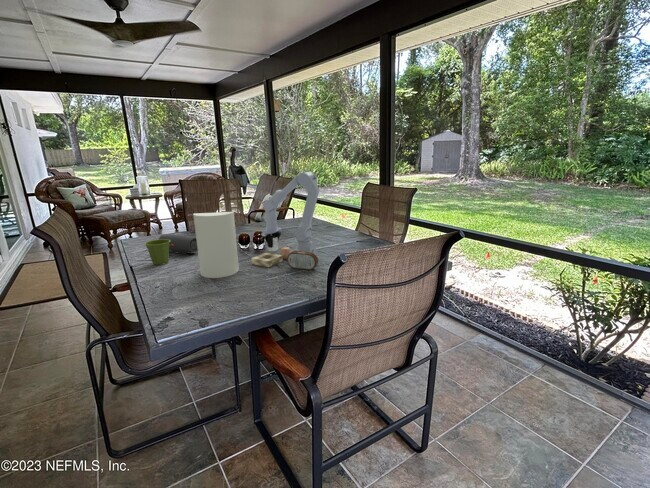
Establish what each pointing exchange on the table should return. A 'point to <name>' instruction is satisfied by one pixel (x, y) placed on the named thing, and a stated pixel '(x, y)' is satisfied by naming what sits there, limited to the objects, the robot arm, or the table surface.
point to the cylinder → (216, 244)
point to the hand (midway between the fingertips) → (273, 246)
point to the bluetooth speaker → (181, 243)
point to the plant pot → (158, 250)
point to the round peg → (285, 252)
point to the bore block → (267, 259)
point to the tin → (302, 260)
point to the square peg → (274, 244)
